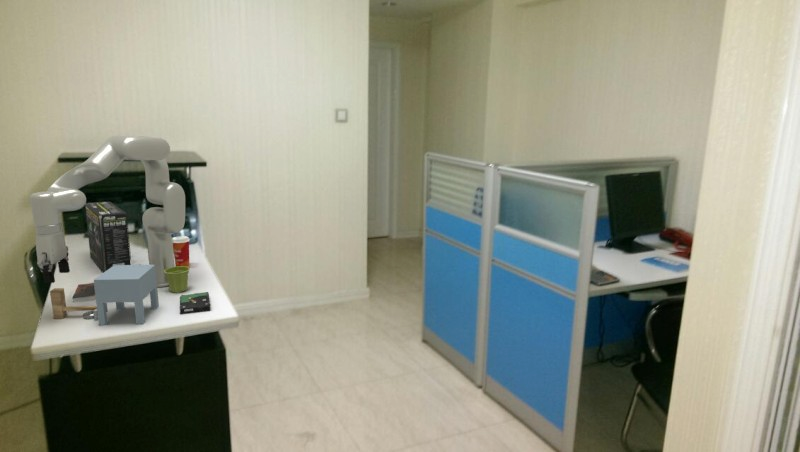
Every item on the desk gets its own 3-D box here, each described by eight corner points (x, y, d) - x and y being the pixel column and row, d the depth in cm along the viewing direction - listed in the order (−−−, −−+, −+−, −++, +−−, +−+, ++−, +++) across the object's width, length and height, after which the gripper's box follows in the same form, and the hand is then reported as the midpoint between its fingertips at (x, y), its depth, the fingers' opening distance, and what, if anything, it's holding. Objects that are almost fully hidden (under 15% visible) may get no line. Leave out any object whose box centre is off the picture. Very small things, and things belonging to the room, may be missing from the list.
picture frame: (72, 304, 194) (137, 296, 202) (72, 297, 193) (136, 290, 202) (79, 289, 208) (139, 283, 217) (78, 283, 208) (138, 277, 216)
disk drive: (211, 312, 188) (208, 298, 201) (210, 305, 188) (208, 291, 201) (180, 316, 184) (179, 301, 198) (179, 308, 184) (179, 294, 197)
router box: (133, 272, 229) (127, 212, 223) (105, 277, 222) (98, 215, 216) (115, 253, 256) (109, 200, 250) (89, 257, 249) (83, 202, 243)
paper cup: (170, 267, 236) (168, 237, 233) (187, 264, 241) (185, 234, 238) (177, 271, 231) (175, 241, 228) (194, 268, 236) (192, 238, 233)
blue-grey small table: (116, 307, 189) (112, 265, 186) (158, 306, 191) (155, 264, 187) (96, 325, 174) (91, 279, 170) (142, 324, 176) (138, 279, 172)
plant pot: (164, 295, 202) (162, 274, 200) (167, 287, 211) (166, 266, 209) (189, 293, 205) (188, 272, 203) (192, 285, 213) (191, 265, 211)
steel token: (82, 321, 178) (81, 316, 178) (84, 315, 182) (84, 311, 182) (99, 319, 180) (98, 314, 179) (100, 313, 184) (100, 309, 184)
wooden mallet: (61, 312, 184) (58, 285, 182) (107, 311, 185) (104, 285, 183) (49, 321, 176) (45, 293, 174) (97, 320, 178) (94, 293, 175)
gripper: (50, 222, 181) (59, 269, 185) (21, 236, 164) (31, 287, 169) (73, 222, 182) (81, 268, 186) (46, 235, 165) (55, 286, 170)
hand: (57, 277), depth 177 cm, fingers open, 9 cm apart
